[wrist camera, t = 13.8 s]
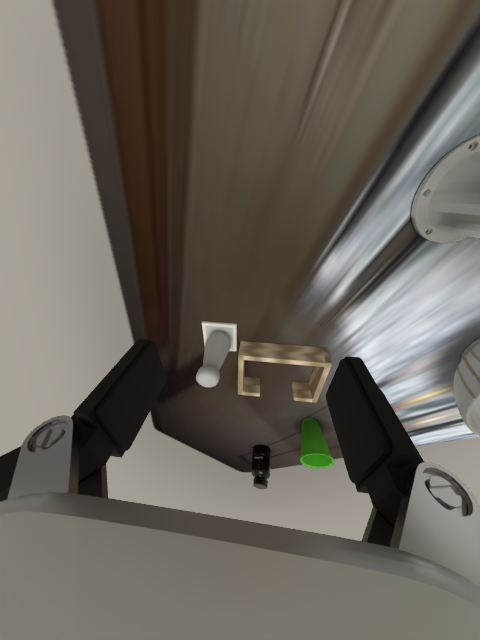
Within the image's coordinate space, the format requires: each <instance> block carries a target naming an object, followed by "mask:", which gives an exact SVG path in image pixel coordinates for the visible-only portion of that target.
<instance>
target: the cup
mask: <svg viewBox="0 0 480 640" xmlns="http://www.w3.org/2000/svg"><path fill="white" fill-rule="evenodd" d="M300 461H301V463H302V464H303V465H305V466H308V467H311V468H326V467H330V466H332V465H333V464H334V459H333V458H332V456H331V454H330V451H329V449H328V446H327V444H326V441H325V439H324V436H323V434H322V431H321V429H320V426H319V424H318V422H317V420H315V419H313V418H306V419H304V420H302V423H301V458H300Z"/></svg>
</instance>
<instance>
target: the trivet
mask: <svg viewBox="0 0 480 640" xmlns="http://www.w3.org/2000/svg"><path fill="white" fill-rule="evenodd" d="M202 328H203V336H204V344H205V343H206V340H207V338H208V336H209V335H211V334H212V333H214V332H217V331H222V332H224V333H226V334H227V336H228V338H229V340H230V343H231V348H230V350H229V351H237V324H234V323H220V322H207V321H202Z"/></svg>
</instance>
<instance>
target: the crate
mask: <svg viewBox="0 0 480 640" xmlns="http://www.w3.org/2000/svg"><path fill="white" fill-rule="evenodd" d="M245 360H252V361H263V362H274V363H285V364H296V365H307V366H314V369H313V372H312V375H311V378H310V381H309V383H306V382H296V381H292V390H293V397H294V400H296V401H306V402H315V403H317V400H318V398H319V395H320V393H321V390H322V388H323V385H324V383H325V380H326V378H327V375H328V373H329V370H330V368H331V365H332V362H331V360H330V357H329V355H328V352H327V350H326V348H322V347H310V346H297V345H285V344H273V343H260V342H248V341H241V343H240V348H239V354H238V394H240V395H250V396H260V378H255V377H245V376H244V375H245Z"/></svg>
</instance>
